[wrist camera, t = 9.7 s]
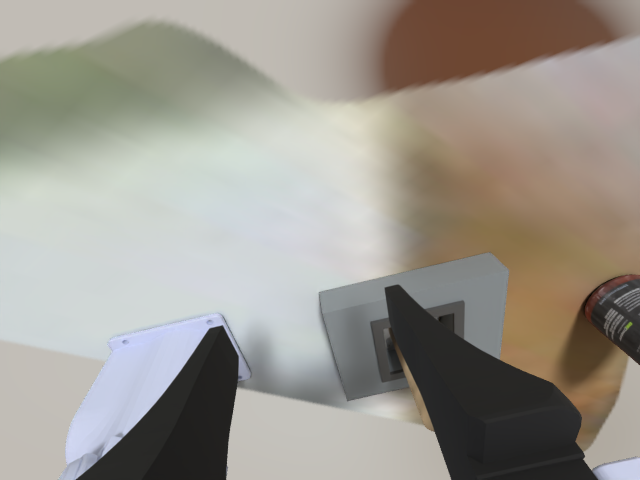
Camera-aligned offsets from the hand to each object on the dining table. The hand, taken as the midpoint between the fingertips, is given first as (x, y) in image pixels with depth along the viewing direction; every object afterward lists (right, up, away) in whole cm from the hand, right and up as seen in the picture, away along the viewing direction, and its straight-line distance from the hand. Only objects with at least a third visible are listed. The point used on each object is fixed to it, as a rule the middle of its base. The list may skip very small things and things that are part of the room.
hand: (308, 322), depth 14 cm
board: (+8, -4, +14) cm, 17 cm away
